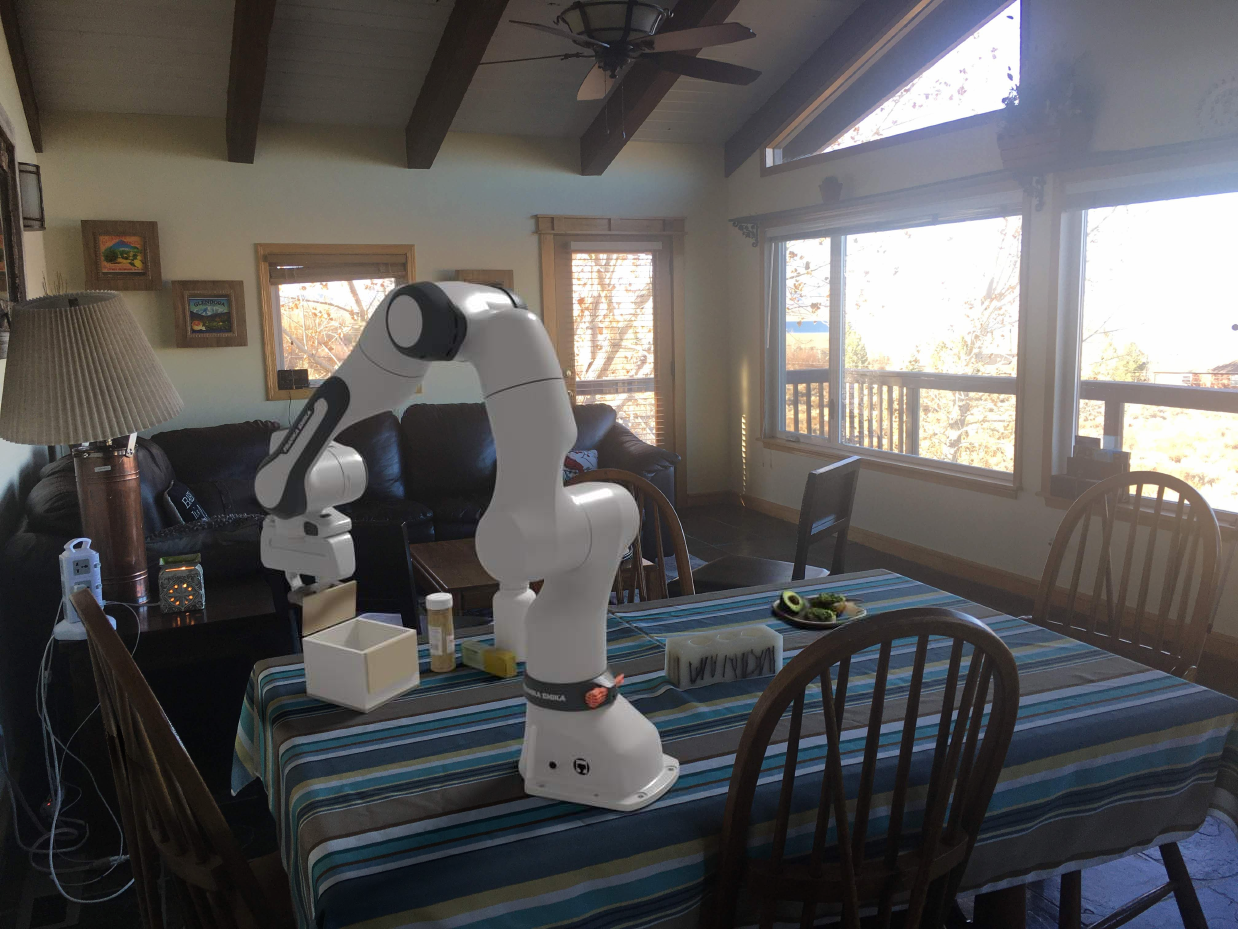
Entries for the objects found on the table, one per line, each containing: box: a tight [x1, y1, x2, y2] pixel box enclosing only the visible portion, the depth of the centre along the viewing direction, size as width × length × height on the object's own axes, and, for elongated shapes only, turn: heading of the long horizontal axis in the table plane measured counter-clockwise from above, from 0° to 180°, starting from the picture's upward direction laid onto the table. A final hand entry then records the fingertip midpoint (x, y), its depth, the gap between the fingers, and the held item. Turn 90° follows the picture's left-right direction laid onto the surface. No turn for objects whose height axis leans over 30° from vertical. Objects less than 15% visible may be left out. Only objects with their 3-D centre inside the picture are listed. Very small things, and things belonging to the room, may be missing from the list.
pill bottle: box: [492, 581, 537, 664], centre depth 169 cm, size 8×8×15 cm
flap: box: [287, 579, 357, 637], centre depth 158 cm, size 7×11×6 cm
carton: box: [301, 617, 421, 714], centre depth 155 cm, size 15×12×10 cm
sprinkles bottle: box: [425, 592, 457, 673], centre depth 164 cm, size 5×5×14 cm
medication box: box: [459, 639, 517, 679], centre depth 164 cm, size 12×3×4 cm, turn 50°
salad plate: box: [772, 589, 868, 630], centre depth 189 cm, size 19×18×5 cm
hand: (309, 597), depth 160 cm, fingers open, 4 cm apart
